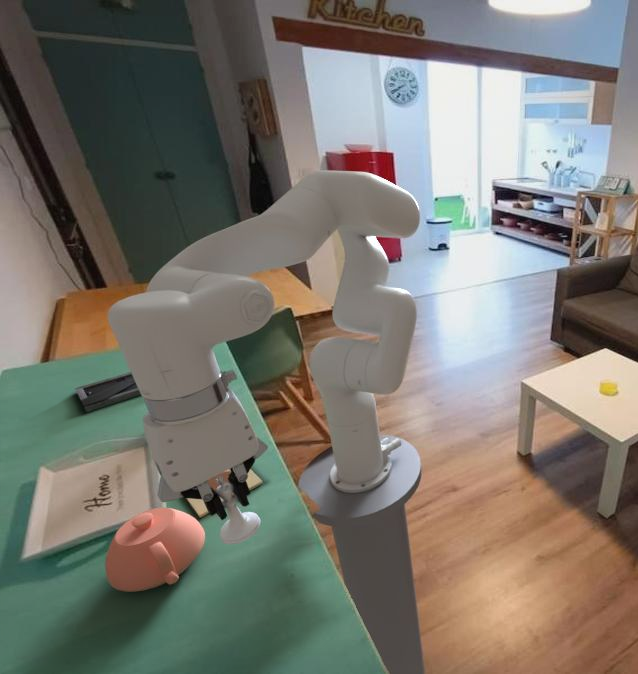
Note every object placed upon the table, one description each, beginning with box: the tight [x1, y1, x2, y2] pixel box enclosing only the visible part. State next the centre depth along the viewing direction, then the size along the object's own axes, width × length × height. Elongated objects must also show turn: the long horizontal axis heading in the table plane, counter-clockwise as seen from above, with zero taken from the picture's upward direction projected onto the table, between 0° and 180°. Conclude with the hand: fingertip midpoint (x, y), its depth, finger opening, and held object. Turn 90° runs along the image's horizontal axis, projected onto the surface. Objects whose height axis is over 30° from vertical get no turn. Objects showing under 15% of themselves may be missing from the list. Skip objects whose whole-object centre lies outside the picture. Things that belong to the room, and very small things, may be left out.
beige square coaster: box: [185, 468, 264, 519], centre depth 83 cm, size 11×11×1 cm
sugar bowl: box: [104, 507, 206, 593], centre depth 65 cm, size 12×14×10 cm
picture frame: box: [74, 371, 142, 413], centre depth 114 cm, size 13×2×18 cm
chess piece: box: [216, 475, 262, 545], centre depth 57 cm, size 5×5×10 cm
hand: (231, 506), depth 57 cm, fingers closed on chess piece
